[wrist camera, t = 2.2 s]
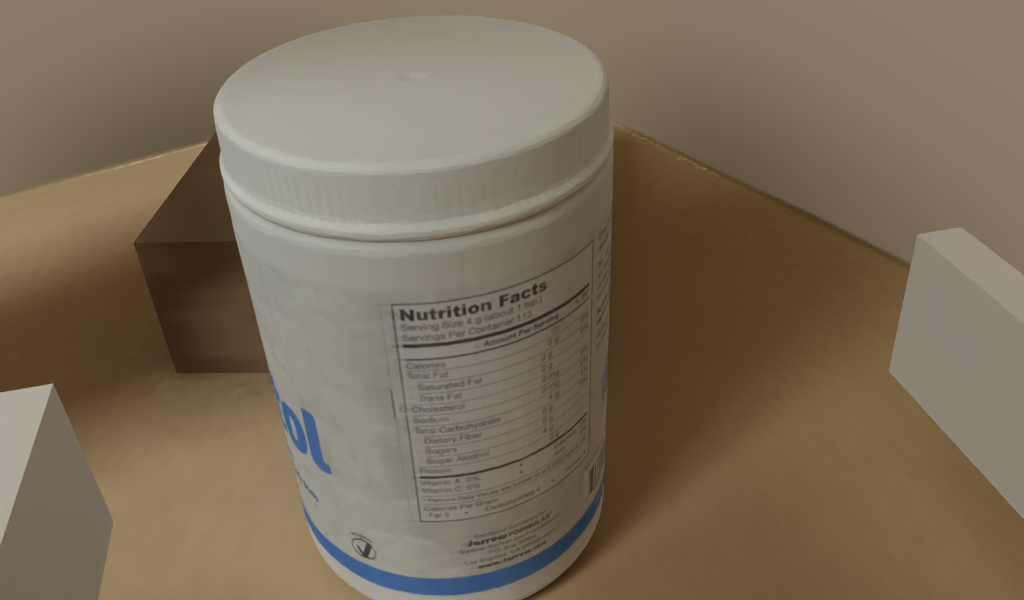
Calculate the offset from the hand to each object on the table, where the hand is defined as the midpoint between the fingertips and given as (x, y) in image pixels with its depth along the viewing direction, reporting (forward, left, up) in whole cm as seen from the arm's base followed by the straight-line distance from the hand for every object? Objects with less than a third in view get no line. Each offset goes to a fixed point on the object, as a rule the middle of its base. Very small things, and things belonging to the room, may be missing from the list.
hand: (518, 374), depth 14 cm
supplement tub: (-3, +10, -14) cm, 17 cm away
